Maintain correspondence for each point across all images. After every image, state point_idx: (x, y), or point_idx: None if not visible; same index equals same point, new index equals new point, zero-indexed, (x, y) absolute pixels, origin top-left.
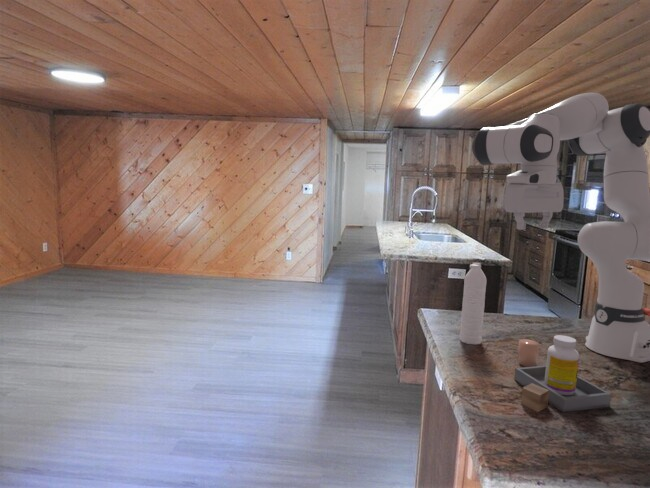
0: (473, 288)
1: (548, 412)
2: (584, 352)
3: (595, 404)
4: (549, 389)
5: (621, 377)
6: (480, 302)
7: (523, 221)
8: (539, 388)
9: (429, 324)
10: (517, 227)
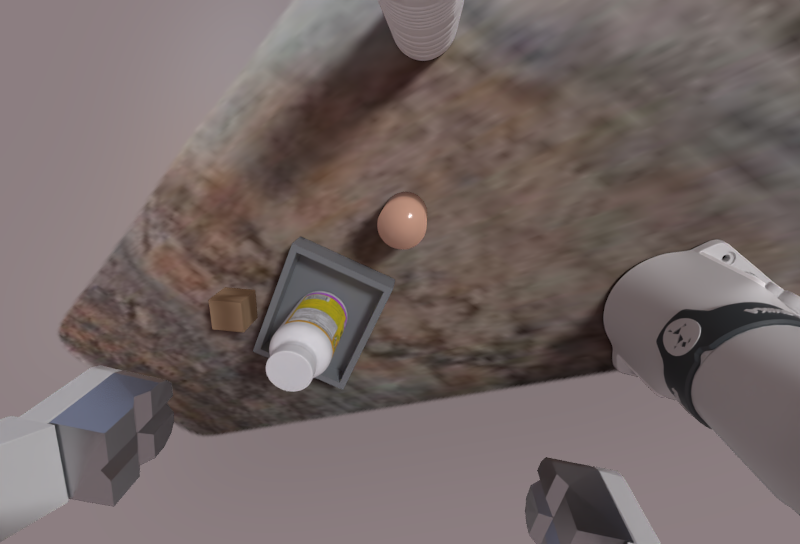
0: None
1: None
2: (593, 271)
3: None
4: (264, 323)
5: (494, 359)
6: (403, 23)
7: (21, 520)
8: (234, 319)
9: None
10: (88, 383)
